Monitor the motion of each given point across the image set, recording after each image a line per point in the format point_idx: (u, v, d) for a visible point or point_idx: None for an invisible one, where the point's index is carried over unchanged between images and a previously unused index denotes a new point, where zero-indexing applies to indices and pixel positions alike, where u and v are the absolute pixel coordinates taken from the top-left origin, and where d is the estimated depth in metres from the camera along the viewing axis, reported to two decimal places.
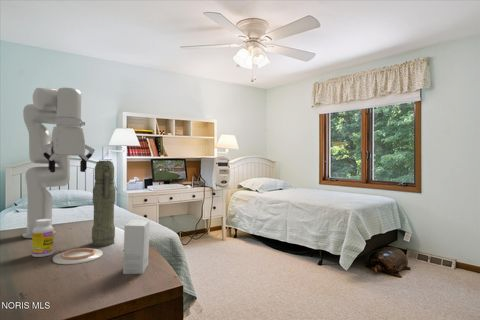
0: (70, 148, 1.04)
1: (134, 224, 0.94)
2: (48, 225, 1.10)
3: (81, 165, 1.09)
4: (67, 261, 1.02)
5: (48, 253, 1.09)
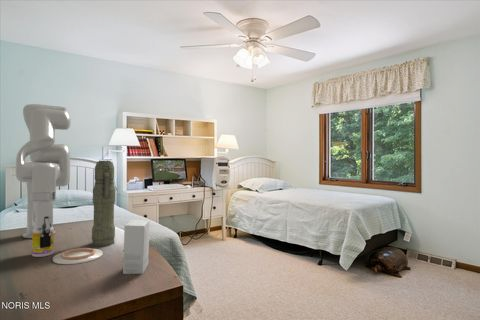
0: None
1: (134, 224, 0.94)
2: None
3: None
4: (67, 261, 1.02)
5: (48, 253, 1.09)
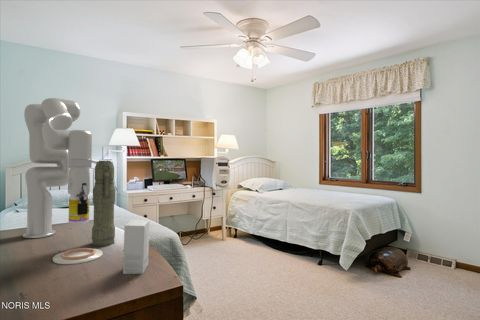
0: None
1: (134, 224, 0.94)
2: None
3: None
4: (67, 261, 1.02)
5: (85, 221, 1.07)
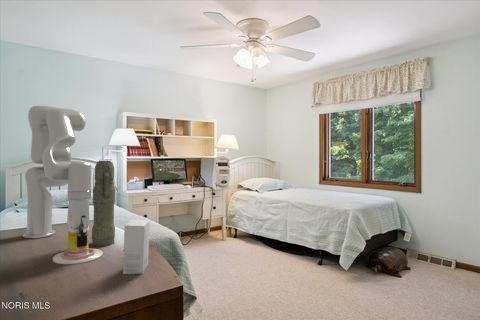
0: None
1: (134, 224, 0.94)
2: None
3: None
4: (67, 261, 1.02)
5: (84, 253, 1.07)
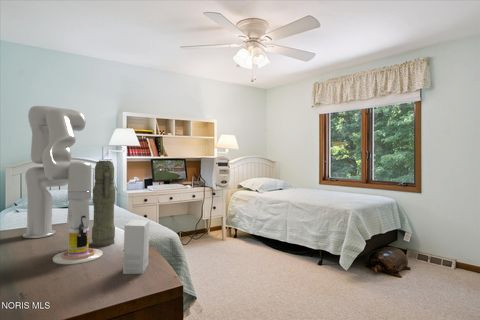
0: None
1: (134, 224, 0.94)
2: None
3: None
4: (67, 261, 1.02)
5: None
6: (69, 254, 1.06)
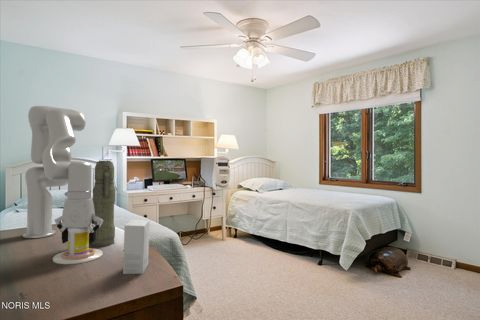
0: None
1: (134, 224, 0.94)
2: None
3: (66, 236, 1.09)
4: (67, 261, 1.02)
5: None
6: (75, 255, 1.06)
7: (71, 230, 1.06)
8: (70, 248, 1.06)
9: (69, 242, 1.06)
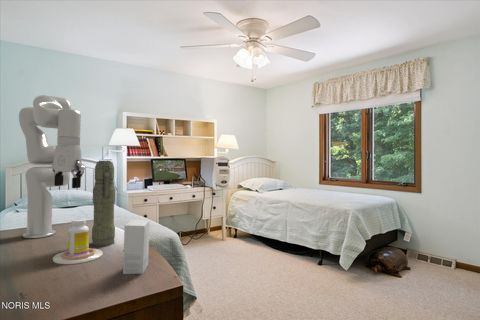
0: None
1: (134, 224, 0.94)
2: None
3: (59, 179, 1.15)
4: (67, 261, 1.02)
5: None
6: (75, 255, 1.06)
7: (71, 230, 1.06)
8: (70, 248, 1.06)
9: (69, 242, 1.06)
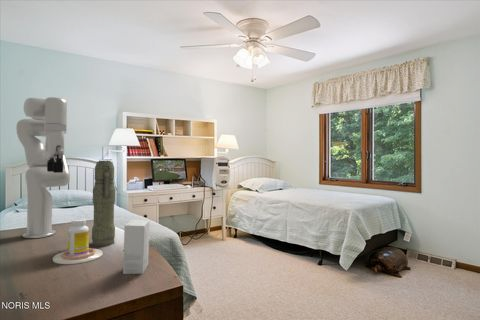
0: None
1: (134, 224, 0.94)
2: None
3: (51, 165, 1.22)
4: (67, 261, 1.02)
5: None
6: (75, 255, 1.06)
7: (71, 230, 1.06)
8: (70, 248, 1.06)
9: (69, 242, 1.06)
